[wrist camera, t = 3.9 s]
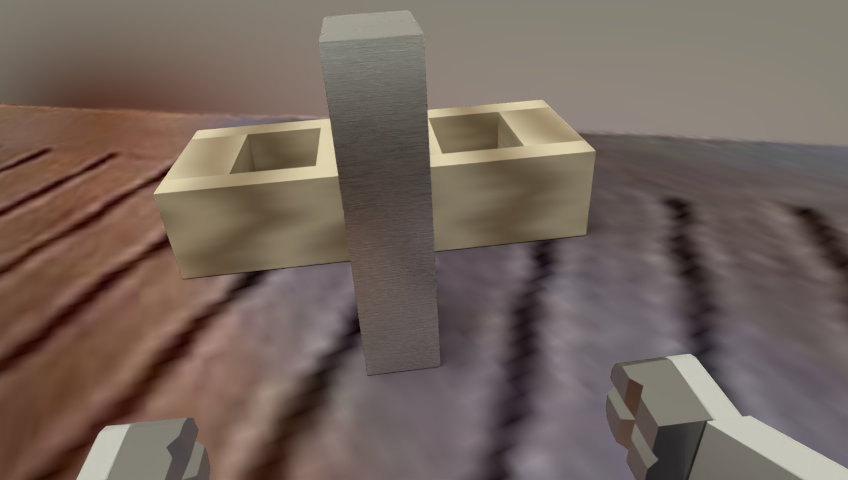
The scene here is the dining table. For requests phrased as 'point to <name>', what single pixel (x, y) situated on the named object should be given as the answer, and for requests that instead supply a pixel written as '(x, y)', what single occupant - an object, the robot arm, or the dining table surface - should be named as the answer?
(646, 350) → the dining table surface
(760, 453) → the robot arm
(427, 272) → the grey square pillar
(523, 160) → the hollow cinder block
